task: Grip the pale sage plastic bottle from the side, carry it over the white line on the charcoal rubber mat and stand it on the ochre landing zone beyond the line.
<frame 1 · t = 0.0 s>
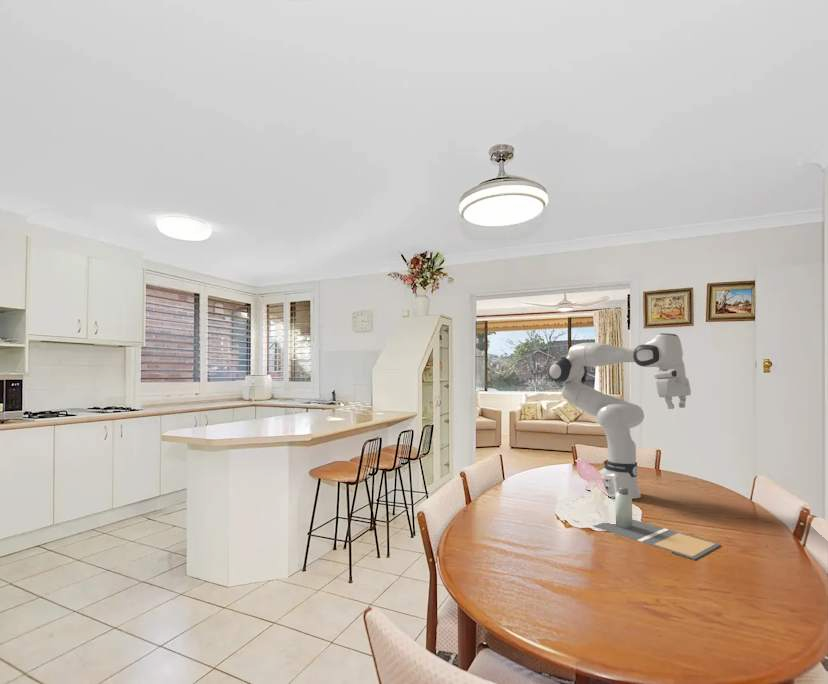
hand: (676, 408, 180), 39 cm above the table, tool pointing down, fingers open, 8 cm apart
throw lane: (653, 536, 148), on the table
bottle: (624, 526, 156), resting on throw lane
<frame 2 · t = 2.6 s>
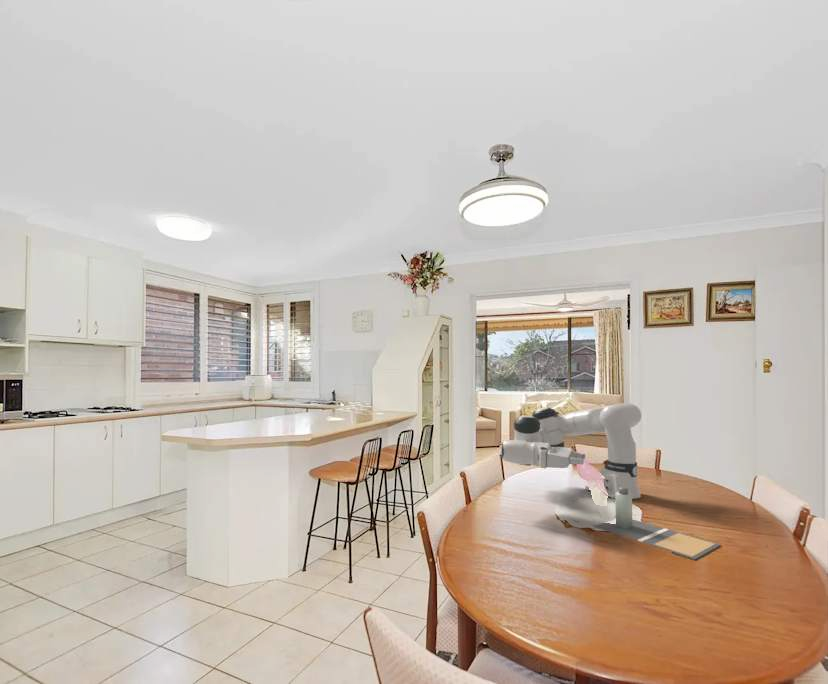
hand: (584, 459, 163), 22 cm above the table, tool horizontal, fingers open, 8 cm apart
nothing on the table moved.
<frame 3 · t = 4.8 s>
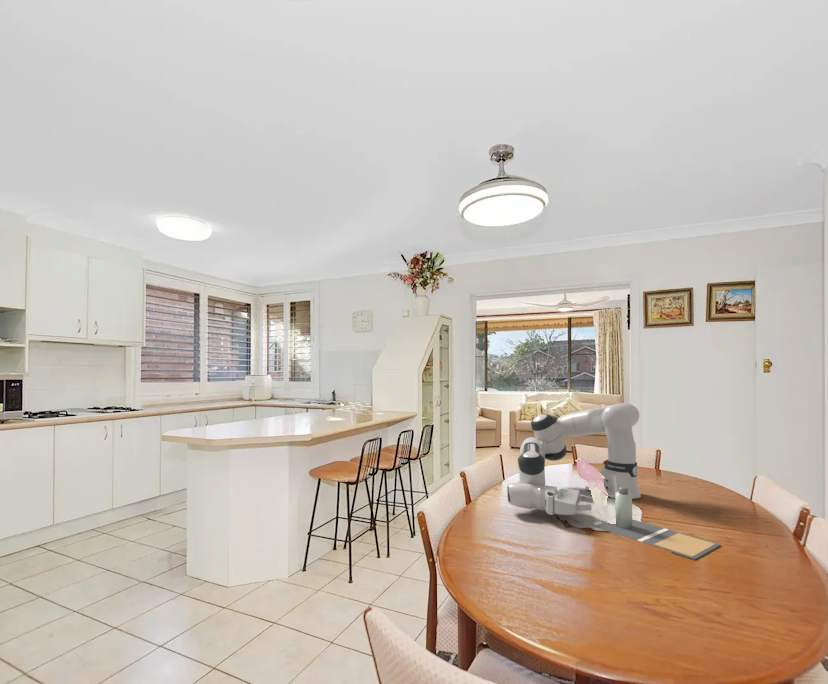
hand: (592, 503, 161), 7 cm above the table, tool horizontal, fingers open, 8 cm apart
nothing on the table moved.
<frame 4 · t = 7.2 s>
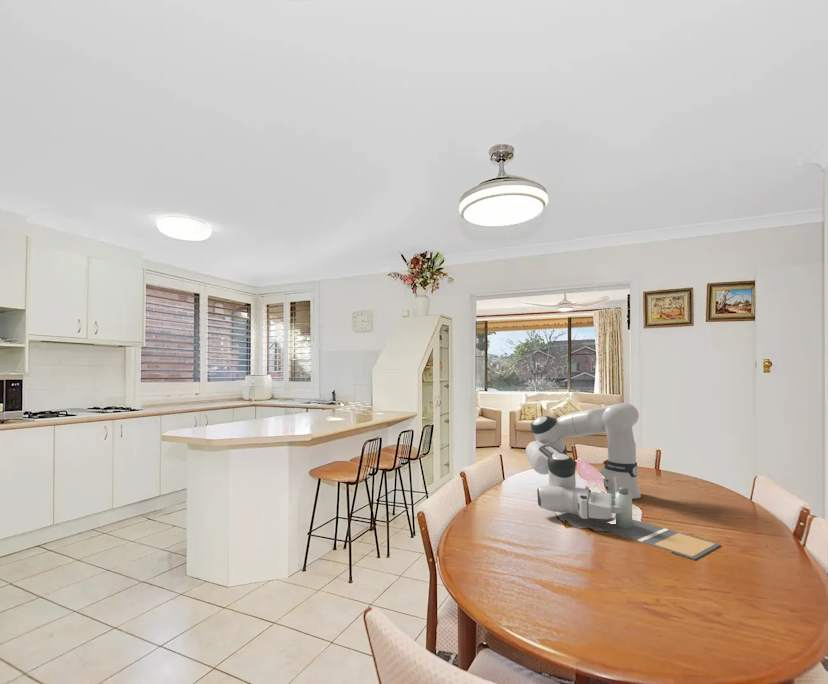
hand: (626, 507, 156), 7 cm above the table, tool horizontal, fingers closed on bottle, 5 cm apart
bottle: (624, 526, 156), resting on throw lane, touching gripper
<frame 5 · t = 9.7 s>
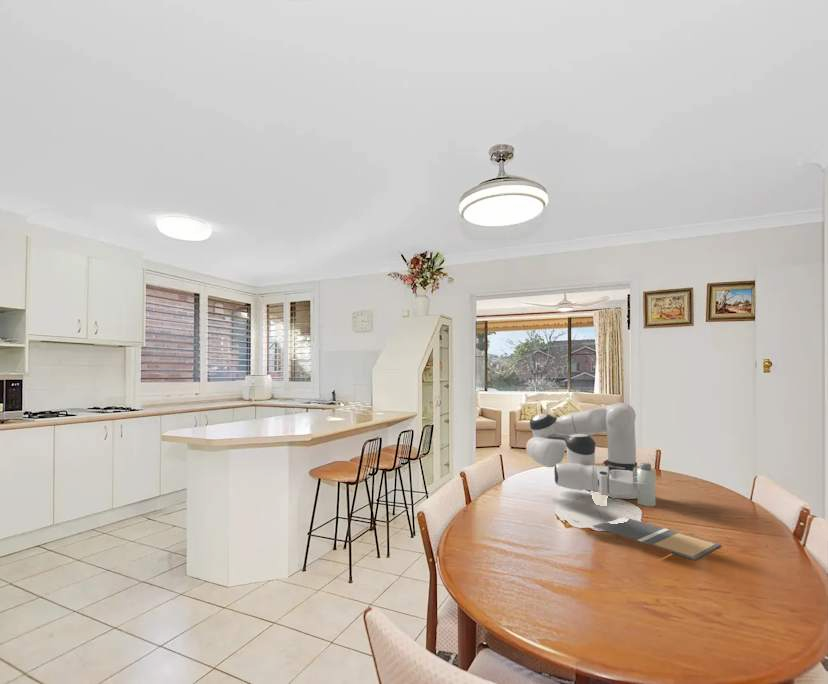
hand: (649, 484, 148), 17 cm above the table, tool horizontal, fingers closed on bottle, 5 cm apart
bottle: (646, 503, 149), point 10 cm above the table, touching gripper
when the fingers open (8 cm above the table, at t = 12.4 s): bottle drops 1 cm, resting on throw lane.
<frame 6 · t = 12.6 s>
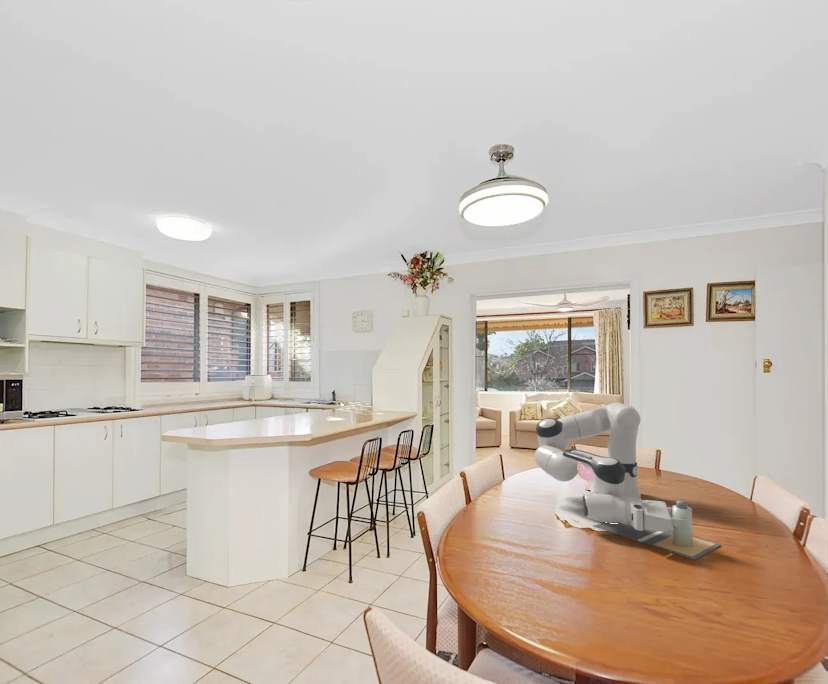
hand: (685, 518, 141), 8 cm above the table, tool horizontal, fingers open, 7 cm apart
bottle: (682, 543, 141), point 1 cm above the table, touching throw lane
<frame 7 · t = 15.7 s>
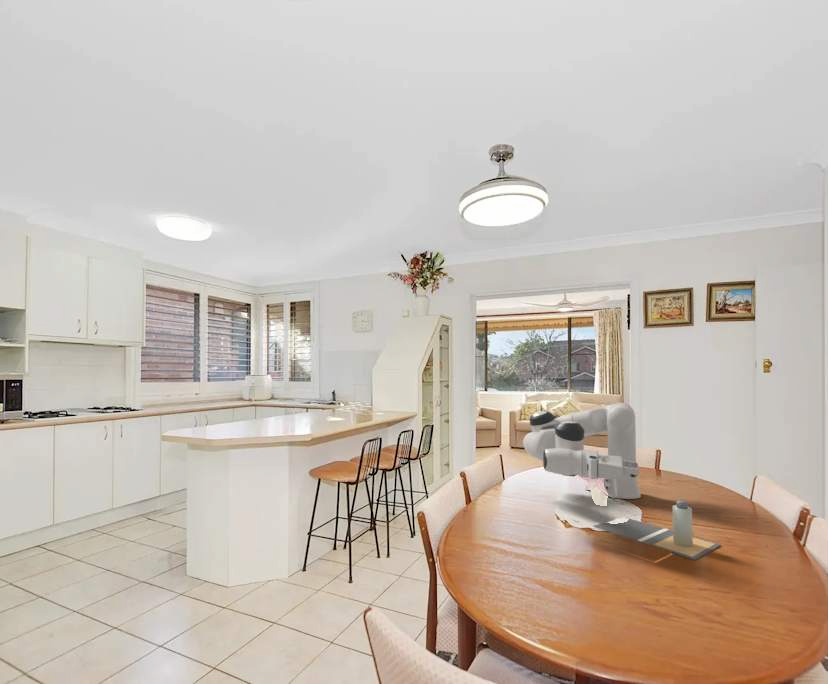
hand: (638, 468, 147), 22 cm above the table, tool horizontal, fingers open, 8 cm apart
nothing on the table moved.
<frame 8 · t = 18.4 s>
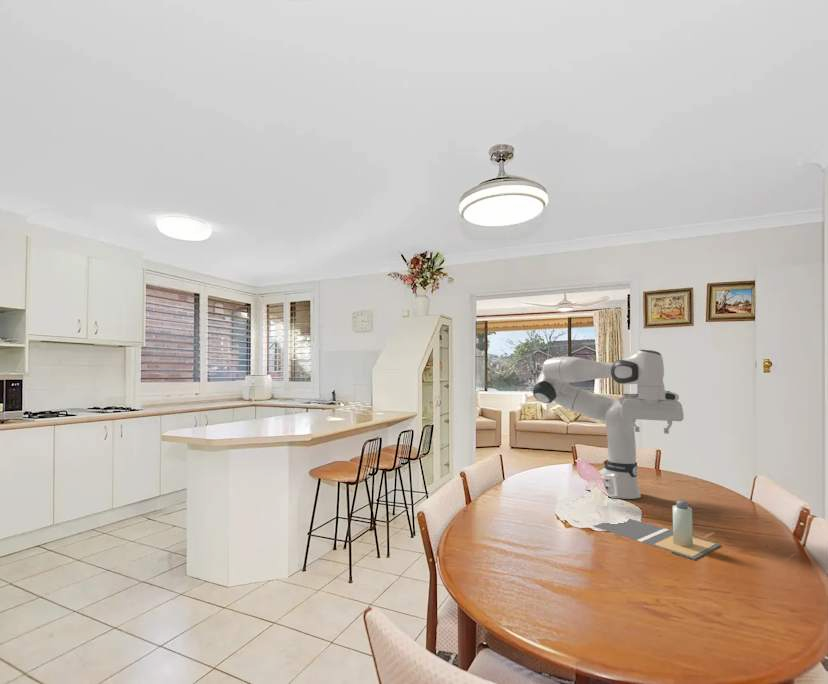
hand: (651, 432, 166), 31 cm above the table, tool pointing down, fingers open, 8 cm apart
nothing on the table moved.
at the end: bottle inside the target area (0.5 cm from its centre), point 0.5 cm above the table; bottle tilted 0°; the gripper is holding nothing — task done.
